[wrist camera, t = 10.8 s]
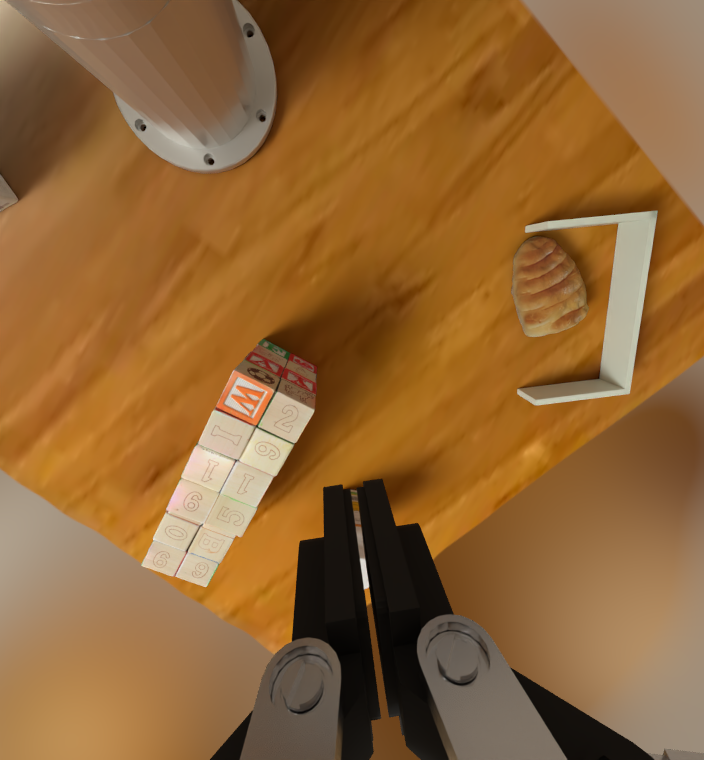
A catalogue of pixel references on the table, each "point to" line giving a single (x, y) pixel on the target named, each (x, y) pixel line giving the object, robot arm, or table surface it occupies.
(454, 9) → the table surface
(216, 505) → the stack of blocks
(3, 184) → the supplement box
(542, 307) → the pastry
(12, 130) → the table surface
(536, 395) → the frame
